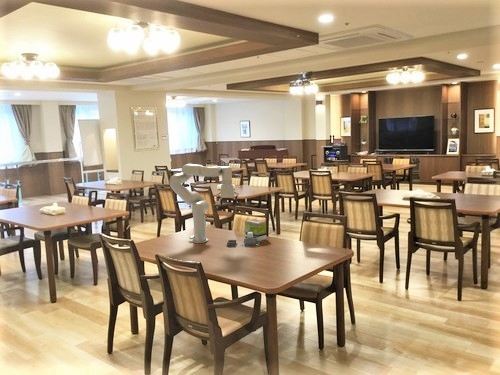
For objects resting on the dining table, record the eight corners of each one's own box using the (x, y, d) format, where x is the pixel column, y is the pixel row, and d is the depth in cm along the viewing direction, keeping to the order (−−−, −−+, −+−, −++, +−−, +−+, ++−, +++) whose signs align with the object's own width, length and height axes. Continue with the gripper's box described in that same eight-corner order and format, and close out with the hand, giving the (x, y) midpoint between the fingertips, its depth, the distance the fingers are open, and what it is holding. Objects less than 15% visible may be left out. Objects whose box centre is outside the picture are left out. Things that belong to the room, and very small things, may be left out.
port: (240, 246, 331) (240, 239, 331) (242, 242, 343) (241, 235, 342) (259, 246, 330) (258, 239, 329) (260, 242, 342) (259, 235, 341)
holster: (225, 247, 331) (225, 242, 330) (227, 244, 340) (227, 239, 339) (236, 247, 330) (236, 242, 330) (237, 244, 339) (237, 239, 338)
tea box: (244, 238, 356) (244, 220, 355) (254, 236, 363) (253, 218, 361) (257, 241, 345) (257, 223, 343) (266, 239, 352) (266, 221, 350)
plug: (247, 244, 335) (247, 233, 334) (247, 242, 339) (247, 232, 338) (252, 244, 334) (252, 233, 333) (253, 242, 338) (252, 231, 337)
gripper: (215, 183, 335) (216, 205, 337) (237, 182, 334) (238, 205, 336) (216, 182, 342) (217, 204, 344) (238, 181, 341) (239, 203, 343)
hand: (227, 204), depth 340 cm, fingers open, 9 cm apart
